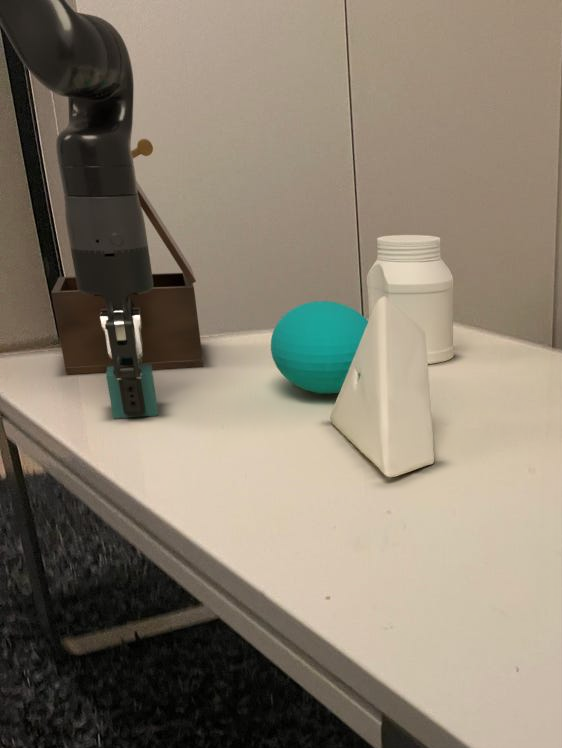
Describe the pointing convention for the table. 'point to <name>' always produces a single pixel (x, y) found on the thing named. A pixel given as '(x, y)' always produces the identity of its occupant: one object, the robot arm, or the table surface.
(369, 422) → the white wedge
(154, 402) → the block
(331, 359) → the toy
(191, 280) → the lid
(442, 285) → the jar
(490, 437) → the table surface
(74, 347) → the chest
